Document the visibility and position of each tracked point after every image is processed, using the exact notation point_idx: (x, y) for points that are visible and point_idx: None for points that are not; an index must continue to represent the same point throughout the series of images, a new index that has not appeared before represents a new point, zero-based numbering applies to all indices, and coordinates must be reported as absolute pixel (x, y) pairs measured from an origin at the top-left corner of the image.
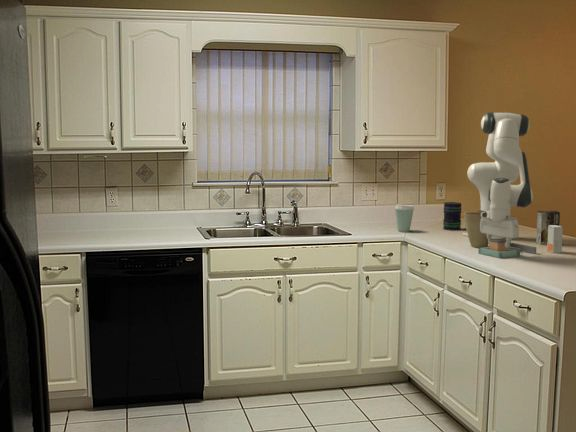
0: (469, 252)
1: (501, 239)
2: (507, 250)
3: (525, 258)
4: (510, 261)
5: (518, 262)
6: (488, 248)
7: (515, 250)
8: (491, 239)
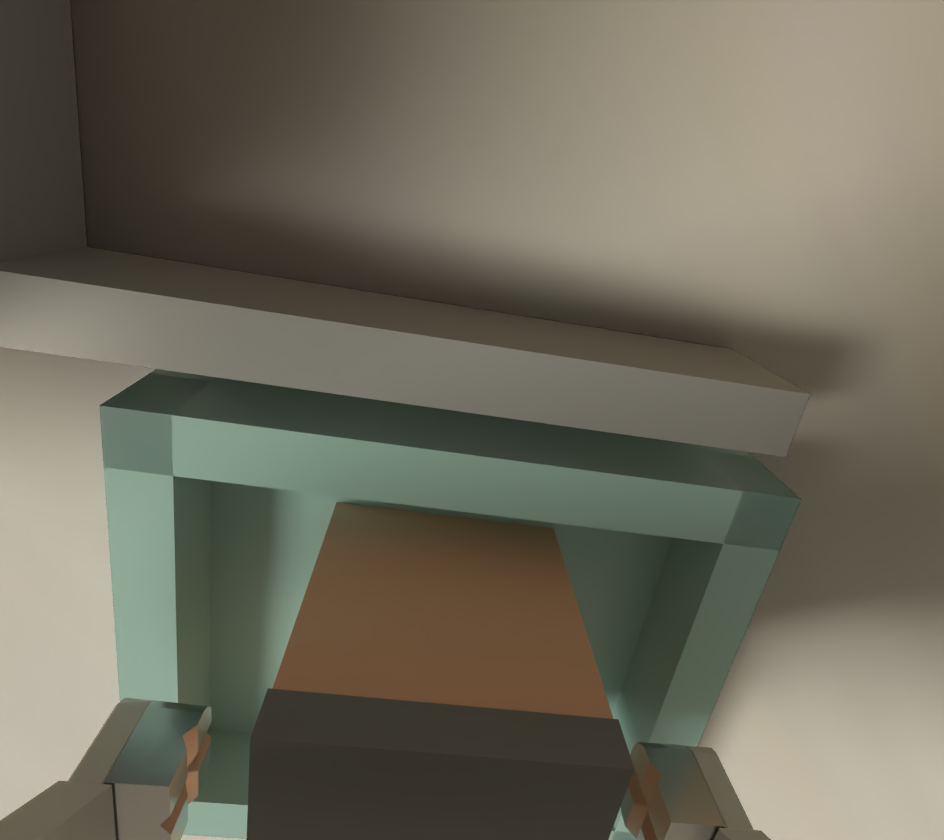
0: (14, 758)
1: (403, 800)
2: (565, 570)
3: (918, 519)
4: (828, 820)
5: (935, 800)
6: (183, 672)
7: (742, 538)
8: (92, 821)
